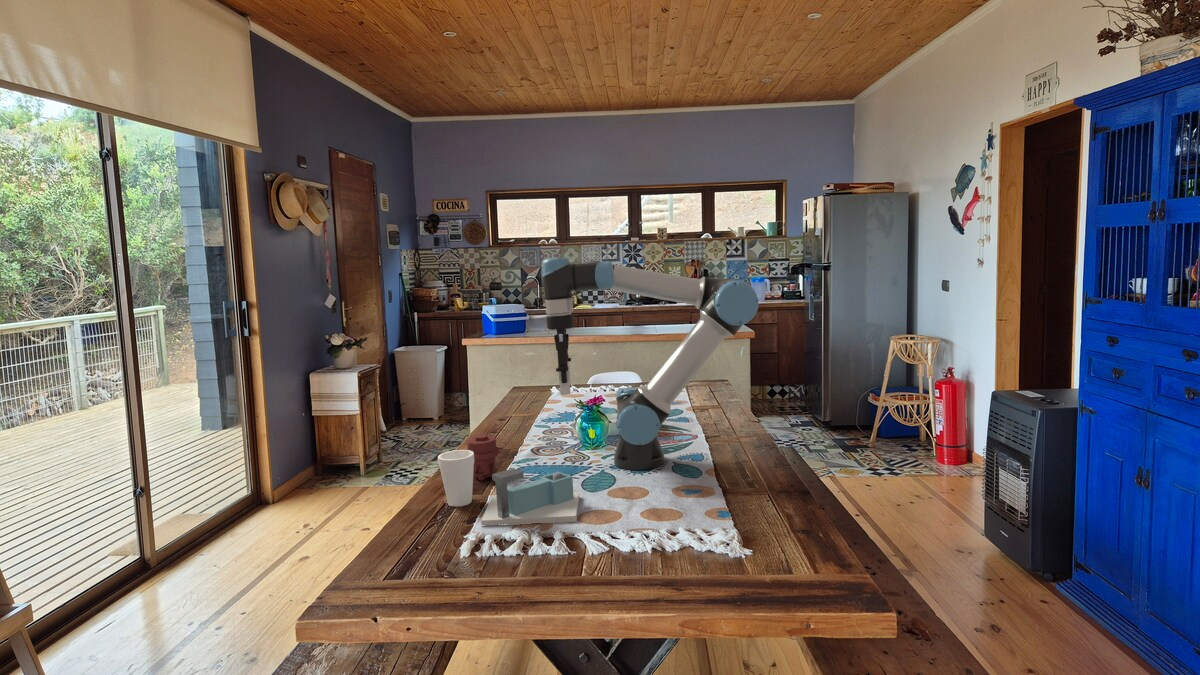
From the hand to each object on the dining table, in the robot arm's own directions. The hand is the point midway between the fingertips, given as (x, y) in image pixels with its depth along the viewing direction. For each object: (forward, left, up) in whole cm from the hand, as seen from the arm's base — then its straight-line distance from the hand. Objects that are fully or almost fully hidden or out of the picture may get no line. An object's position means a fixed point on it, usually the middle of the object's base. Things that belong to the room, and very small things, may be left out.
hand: (565, 389), depth 203 cm
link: (+7, +23, -25) cm, 34 cm away
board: (+9, +23, -26) cm, 36 cm away
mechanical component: (+26, -7, -26) cm, 38 cm away
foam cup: (+29, +14, -26) cm, 42 cm away
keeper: (+13, +28, -26) cm, 41 cm away
